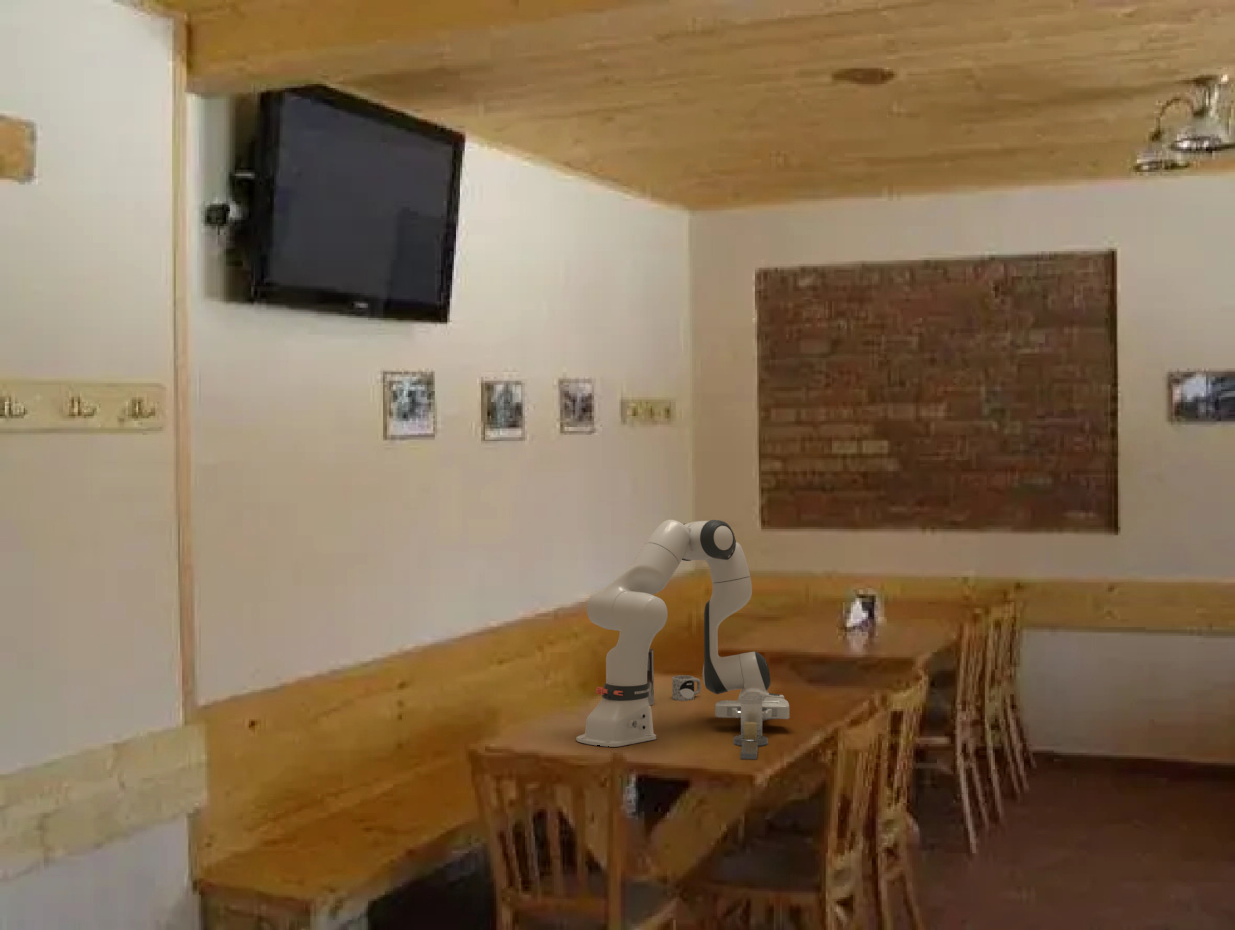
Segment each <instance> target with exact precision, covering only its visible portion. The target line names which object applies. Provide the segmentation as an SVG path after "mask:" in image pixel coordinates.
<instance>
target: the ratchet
mask: <svg viewBox="0 0 1235 930" xmlns="http://www.w3.org/2000/svg"><path fill="white" fill-rule="evenodd" d="M733 745H734V746H737V745H739V746H738V747H740V759H739V760H757V759H758V758H757V757H758V748H761V747H766V746H767V745H769V738H768V736H764V735H762V736H761V735H757V722H745V723H744V735H741V734H739V735H735V736H733Z"/></svg>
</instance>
